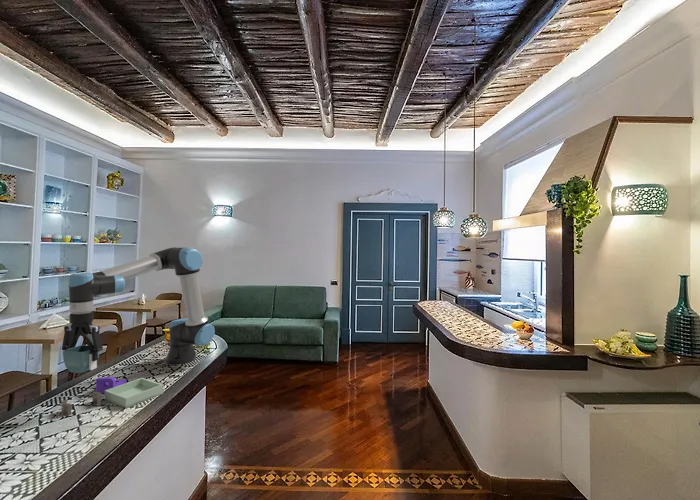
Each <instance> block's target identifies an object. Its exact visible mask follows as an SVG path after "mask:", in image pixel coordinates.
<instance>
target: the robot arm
mask: <svg viewBox="0 0 700 500" xmlns="http://www.w3.org/2000/svg"><path fill="white" fill-rule="evenodd" d="M203 260H204V259H203V255H202V253H201V252H200V251H199V250H198V249H196V248H193V247H168V248H165V249H162V250H158V251H155V252H152V253H150V254H149V255H148V256H146V257H143V258H140V259H136V260H134V261H131V262H126V263H123V264H120V265H117V266H114V267H110V268H106V269H104V270H100V271H98V272H97V271H96V272H94V273H91V272H78V273H72V274H70V275H69V277H68V292H69V293H68V296H69V297H68V300H69V301H68V303H69V305H68V306H69V309H68V310H69V313H70V314H69V323H70V324H68V325H65V326H64V327H63V330H64V332H63V333H64V334H63V339H62V346H61V351H64V350H68V349H71V348H74V347H77V344H78V342H79V339H80V337H82V338H83V339H84V340H85V342H86V345H88V347H89V349H90V352H91V353H89V370H88V371H93V370H95V369H97V368H98V363H97V362H98V361H99V358H98V352H99V351H100V352H101V351H103V343H102V339H101V333H100V329H101V327H100V325H97V326H95V325H93V322H94V318H95V317H94V312H93V311H94V296H95V297H96V296H99V295H102V296H103V295H109V294H116V293H117V294H118V293H121V292H123V291H124V290H125V287H126V281H127V280H130V279H134V278H136V277H138V276H141V275H145V274H148V273H151V272H153V271H154V272H155V271H156V272H159V271H160V272H161V271H163V270H174V273H175V276H177V277H178V278H179V281H180V285H181V286H180V287H181V292H182V297H183V303H184V308H185V311H186V312H185V313H186V314H185V315H186V317H185V318H184V317H183V318H178V319H173V320H171V321H170V323H169V349H168V352H167V355H166V358H165V359H166V360H165V362H166V364H170V365H171V364H172V365H181V364H186V363H189V362H190V363H191V362H192V361H195V360H196V359H197V353H196V350H195V347H194V345H196V346H207V345H208V344H209V343H211V341H213V338H214V337H215V333H216V332H215V331H216V330H215V326H214V325H212V323H210V322H209V318H208V317H207V316H206V315H205V310H204V306H203V301H202V300H203V298H202V294H201V293H202V292H201V288H200V283H199V276H198V274H199V273H200V271H201V270H200V269H201V267H202V264H203ZM94 349H95V350H94ZM97 360H98V361H97Z"/></svg>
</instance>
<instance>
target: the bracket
mask: <svg viewBox="0 0 700 500" xmlns="http://www.w3.org/2000/svg"><path fill="white" fill-rule="evenodd" d="M125 383H128V382H127V379H116V377H113V376H100V377H97V378H96V379H95V391H96V392H100V393H102V395H103V394H104V395H105V390H108V389H111V388H114V387H117V386H119V385H122V384H125Z"/></svg>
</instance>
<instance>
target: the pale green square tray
mask: <svg viewBox="0 0 700 500" xmlns="http://www.w3.org/2000/svg"><path fill="white" fill-rule="evenodd" d="M163 394H164V384H162V383H160V382H156V381H153V380H149V379H147V378H144V377H140V378H138V379H134V380H132V381H128V382H126V383H125V384H122V385H119V386H117V387H114V388H111V389H108V390H105V394H104V401H106V402H109V403H111V404H113V405H116V406H119V407H121V408H123V409H128V408H132V407H133V406H135V405H138V404H141V403H144V402H146V401H148V400H151V399H154V398H155V397H156V398H157V397H159V396H160V395H163Z"/></svg>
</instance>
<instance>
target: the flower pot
mask: <svg viewBox="0 0 700 500" xmlns="http://www.w3.org/2000/svg"><path fill="white" fill-rule="evenodd" d="M94 350H95V349H94ZM100 352H101V351H99V352H98V360H97V362H98V361H99V357H100ZM89 353H91V352H90V349H89V347H88V345H87V344H81V345H76V346H75V347H74V348H71V349H68V350H62V358H63V362H64V365H65V368H66V369H67V370H68V371H69V372H70V373H76V374H77V373H79V374H82V373H85V372H89V371H90V370H89Z"/></svg>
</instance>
